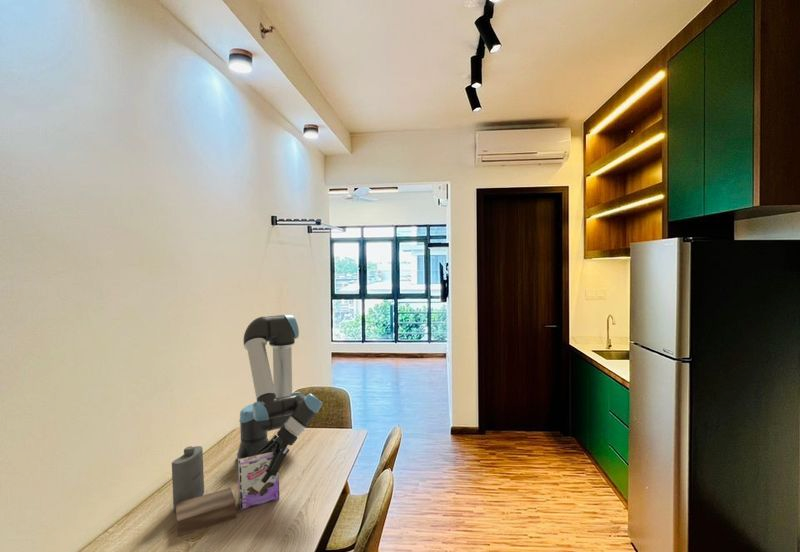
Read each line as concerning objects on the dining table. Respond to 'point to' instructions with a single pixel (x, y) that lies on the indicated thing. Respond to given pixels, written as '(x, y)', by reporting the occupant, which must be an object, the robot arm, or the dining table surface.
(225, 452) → the dining table surface
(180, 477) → the flask
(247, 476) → the candy box
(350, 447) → the dining table surface
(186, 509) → the walnut plinth
